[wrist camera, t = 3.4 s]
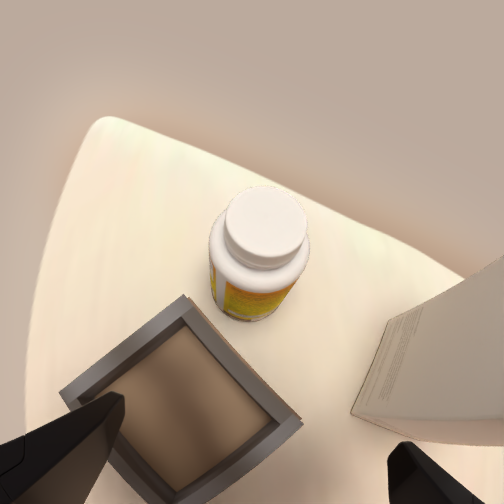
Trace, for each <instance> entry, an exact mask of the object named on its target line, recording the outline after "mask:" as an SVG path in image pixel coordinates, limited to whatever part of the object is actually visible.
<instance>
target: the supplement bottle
mask: <svg viewBox="0 0 504 504" xmlns="http://www.w3.org/2000/svg"><path fill="white" fill-rule="evenodd" d="M307 228H308V222H307V217H306V213H305V211H304V209H303V207H302V206H301V204H300V203H299V202H298V201H297V200H296V199H295V198H294V197H293V196H292V195H290V194H289V193H287V192H285V191H284V190H281V189H278V188H276V187H270V186H256V187H251V188H248V189H245V190H243V191H242V192H240V193H239V194H237V195H236V196H235V197H234V198H233V199H232V200H231V202H230V204H229V205H228V208H227V209H226V210H224V211H223V212H222V213H221V214H220V215H219V216H218V218H217V219H216V221H215V222H214V224H213V226H212V229H211V232H210V236H209V262H210V279H211V290H212V295H213V298H214V300H215V302H216V304H217V305H218V307H219V308H220V309H221V310H222V311H223V312H224V313H225V314H227V315H228V316H230V317H232V318H234V319H237V320H241V321H257V320H260V319H263V318H265V317H267V316H269V315H270V314H271V313H273V312H274V311H275V310H276V309H277V307H278V306H279V305H280V303H281V302H282V301H283V299H284V298H285V296H286V295H287V294H288V292H289V291H290V289H291V288H292V287H293V285H294V284H295V282H296V281H297V279H298V278H299V277H300V275H301V274H302V272H303V271H304V269H305V267H306V265H307V262H308V259H309V254H310V242H309V237H308V234H307Z"/></svg>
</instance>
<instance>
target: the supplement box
mask: <svg viewBox="0 0 504 504" xmlns="http://www.w3.org/2000/svg"><path fill="white" fill-rule="evenodd" d="M351 414H353V415H355V416H357V417H359V418H361V419H364V420H366V421H369V422H371V423H374V424H376V425H379V426H381V427H384V428H386V429H389V430H392V431H394V432H397V433H400V434H402V435H405V436H408V437H411V438H413V439H417V440H420V441H426V442H434V443H443V444H454V445H468V446H504V255H503V256H501V257H500V258H499V259H497V260H495V261H494V262H493V263H491V264H489V265H488V266H486V267H485V268H484V269H482V270H480V271H479V272H477V273H475V274H474V275H472V276H470V277H469V278H467V279H465V280H464V281H462V282H460V283H459V284H457V285H455V286H453V287H452V288H450V289H448V290H446V291H445V292H443V293H441V294H439V295H437V296H436V297H434V298H432V299H430V300H428V301H426V302H424V303H423V304H421V305H419V306H417V307H415V308H413V309H411V310H409V311H407V312H405V313H403V314H401V315H399V316H397V317H395V318H393V319H390V320H389V322H388V324H387V327H386V330H385V333H384V336H383V338H382V341H381V344H380V346H379V349H378V351H377V354H376V356H375V359H374V361H373V364H372V366H371V369H370V371H369V373H368V376H367V378H366V380H365V383H364V385H363V387H362V389H361V391H360V394H359V396H358V398H357V400H356V402H355V404H354V407H353V409H352V411H351Z"/></svg>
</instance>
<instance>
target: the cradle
mask: <svg viewBox="0 0 504 504" xmlns="http://www.w3.org/2000/svg"><path fill="white" fill-rule="evenodd" d="M109 391H115V392H118V393H121V394H123V395H124V397H125V416H124V419H123V422H122V425H121V427H120V430H119V432H118V435H117V437H116V440H115V443H114V445H113V448H112V451H111V453H110V456H109V458H108V462H109V463H110V464H111V465H112V466H113V467H114V469H115V470H116V471H117V472H118V473H119V474H120V475H121V476H122V477H123V479H124V480H125V481H126V482H127V483H128V484H129V485H130V486H131V487H132V488H133V489H134V490H135V491H136V492H137V493H138V494H139V495H140V496H141V497H142V498H143V499H144V500H145V501H146V502H147V503H148V504H205V503H206V502H208V501H209V500H211V499H212V498H214V497H215V496H216V495H218V494H219V493H221V492H222V491H224V490H225V489H226V488H228V487H229V486H231V485H232V484H233V483H235V482H236V481H237V480H239V479H240V478H241V477H243V476H244V475H245V474H247V473H248V472H249V471H250V470H252V469H253V468H254V467H256V466H257V465H258V464H259V463H260V462H262V461H263V460H264V459H265V458H267V457H268V456H269V455H270V454H271V453H272V452H274V451H275V450H276V449H277V448H278V447H279V446H281V445H282V444H283V443H284V442H285V441H286V440H287V439H288V438H290V437H291V436H292V435H293V434H294V433H295V432H296V431H297V430H298V429H299V428H300V427H301V426H302V425H304V424H303V423H302V422H301V421H300V420H301V419H302V418H301V417H300V416H299V415H298V414H297V413H296V412H295V411H294V410H293V409H291V408H290V407H289V406H288V405H287V404H286V403H285V402H284V401H283V400H282V399H281V398H280V397H279V396H278V395H277V394H276V393H275V392H274V390H273V389H272V388H271V387H270V386H269V385H268V384H267V383H266V382H265V381H264V380H263V379H262V378H261V377H260V376H259V375H258V374H257V373H256V372H255V371H254V370H253V369H252V368H251V366H250V365H249V364H248V363H247V362H246V361H245V360H244V359H243V358H242V357H241V356H240V355H239V354H238V352H237V351H236V350H235V349H234V348H233V347H232V346H231V345H230V344H229V342H228V341H227V340H226V339H225V338H224V337H223V336H222V335H221V334H220V332H219V331H218V330H217V329H216V328H215V327H214V326H213V324H212V323H211V322H210V321H209V320H208V319H207V317H206V316H205V315H204V314H203V313H202V312H201V310H200V309H199V308H198V307H197V306H196V304H195V303H194V302H193V301H192V300H191V299H190V297H188V298H186V296H185V295H184V294H183V295H182V296H181V297H179V298H178V299H177V300H175V301H174V302H173V303H172V304H170V305H169V306H168V307H166V308H165V309H164V310H163V311H161V312H160V313H159V314H157V315H156V316H155V317H154V318H152V319H151V320H150V321H148V322H147V323H146V324H145V325H143V326H142V327H141V328H140V329H138V330H137V331H136V332H134V333H133V334H132V335H131V336H129V337H128V338H127V339H125V340H124V341H123V342H122V343H120V344H119V345H118V346H117V347H115V348H114V349H113V350H111V351H110V352H109V353H108V354H106V355H105V356H104V357H103V358H101V359H100V360H99V361H98V362H96V363H95V364H94V365H92V366H91V367H90V368H89V369H87V370H86V371H85V372H84V373H82V374H81V375H80V376H79V377H77V378H76V379H75V380H74V381H72V382H71V383H70V384H69V385H67V386H66V387H65V388H64V389H62V390H61V391H60V392H59V394H60V395H61V397H62V399H63V400H64V402H65V403H66V405H67V406H68V408H69V410H70V411H73V410H75V409H77V408H79V407H81V406H83V405H85V404H87V403H89V402H91V401H92V400H94V399H96V398H98V397H100V396H102V395H104V394H106V393H107V392H109Z"/></svg>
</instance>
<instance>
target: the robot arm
mask: <svg viewBox="0 0 504 504" xmlns="http://www.w3.org/2000/svg"><path fill="white" fill-rule="evenodd" d="M124 416H125V397H124V395H123V394H121V393H118V392H115V391H109V392H107V393H106V394H104V395H102V396H100V397H98V398H96V399H94V400H92V401H91V402H89V403H87V404H85V405H83V406H81V407H79V408H77V409H75V410H73V411H71V412H69V413H68V414H66V415H64V416H62V417H60V418H58V419H56V420H54V421H52V422H50V423H48V424H46V425H44V426H42V427H39V428H37V429H35V430H33V431H31V432H29V433H27V434H25V436H24V435H23V436H21V437H18V438H16V439H14V440H11V441H9V442H7V443H4V444H2V445H0V504H84V503H85V501H86V499H87V497H88V495H89V493H90V491H91V489H92V487H93V486H94V484H95V482H96V480H97V478H98V476H99V474H100V473H101V471H102V469H103V467H104V465H105V463H106V461H107V460H108V458H109V456H110V453H111V451H112V448H113V445H114V443H115V440H116V437H117V435H118V432H119V430H120V427H121V425H122V422H123V419H124ZM387 466H388V491H389V502H390V504H485V503H484V502H482V501H481V500H480V499H478V498H477V497H476V496H475V495H474V494H472V493H471V492H470V491H469V490H468V489H466V488H465V487H464V486H463V485H462V484H460V483H459V482H458V481H457V480H456V479H454V478H453V477H452V476H451V475H450V474H448V473H447V472H446V471H445V470H444V469H443V468H441V467H440V466H439V465H438V464H437V463H436V462H434V461H433V460H432V459H431V458H430V457H429V456H428V455H426V454H425V453H424V452H423V451H422V450H421V449H420V448H418V447H417V446H416V445H415V444H414V443H413V442H411V441H404V442H400V443H399V444H398V445H397V446H396V448H395V449H394V450H393V451H392V452H391V454H390V455H389V456H388V460H387Z"/></svg>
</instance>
